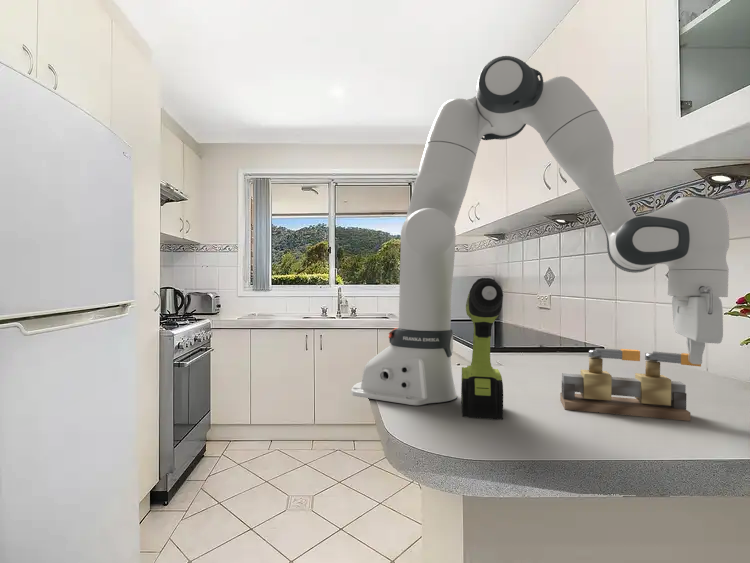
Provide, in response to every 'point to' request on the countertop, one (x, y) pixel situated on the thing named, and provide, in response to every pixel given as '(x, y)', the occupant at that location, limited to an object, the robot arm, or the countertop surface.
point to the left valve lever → (616, 354)
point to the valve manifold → (625, 393)
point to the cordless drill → (482, 354)
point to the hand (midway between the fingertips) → (695, 363)
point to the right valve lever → (669, 358)
